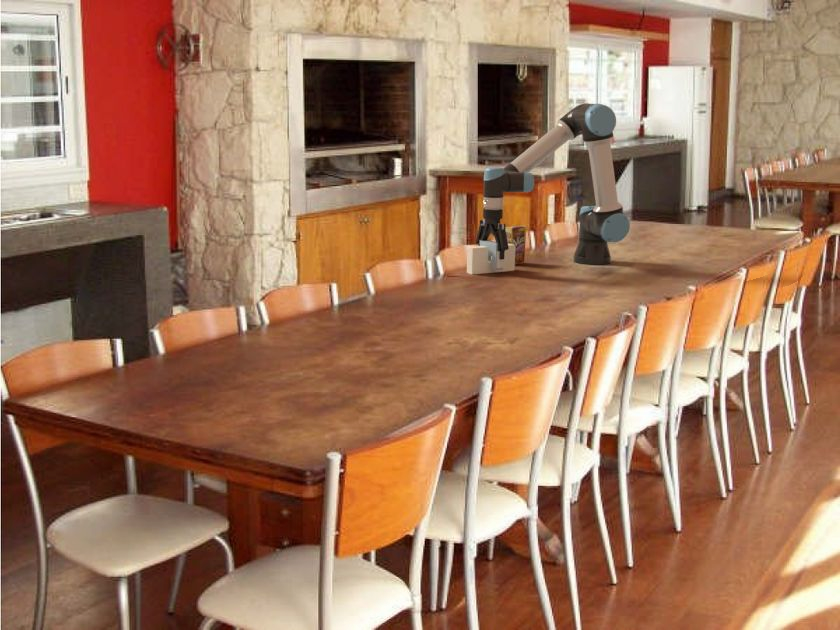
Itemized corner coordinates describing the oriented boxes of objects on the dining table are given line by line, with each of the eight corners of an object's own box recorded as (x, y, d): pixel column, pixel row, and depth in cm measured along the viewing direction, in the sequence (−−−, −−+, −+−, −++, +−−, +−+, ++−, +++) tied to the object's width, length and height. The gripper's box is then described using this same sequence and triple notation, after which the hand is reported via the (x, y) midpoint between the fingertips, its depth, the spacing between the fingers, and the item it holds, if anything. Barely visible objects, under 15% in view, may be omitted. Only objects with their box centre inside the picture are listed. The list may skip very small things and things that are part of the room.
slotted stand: (509, 269, 426) (510, 243, 424) (514, 270, 423) (515, 244, 421) (466, 272, 415) (467, 246, 413) (471, 274, 413) (472, 248, 410)
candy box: (510, 265, 433) (511, 227, 430) (502, 264, 436) (503, 226, 433) (525, 263, 440) (526, 225, 436) (517, 262, 443) (518, 224, 439)
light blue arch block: (479, 266, 422) (479, 240, 420) (486, 265, 424) (487, 240, 422) (495, 270, 413) (496, 244, 411) (503, 269, 415) (503, 243, 413)
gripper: (467, 205, 422) (465, 261, 426) (503, 212, 402) (501, 270, 407) (483, 204, 426) (481, 260, 430) (519, 211, 406) (517, 269, 411)
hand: (491, 265), depth 419 cm, fingers closed on light blue arch block, 11 cm apart
